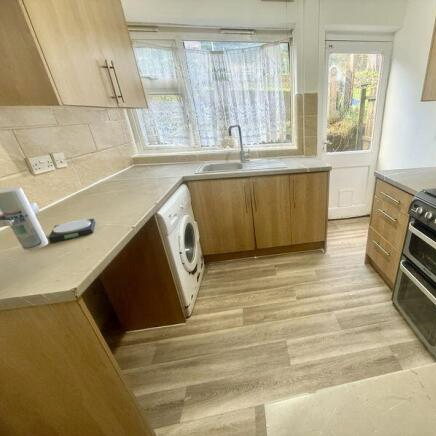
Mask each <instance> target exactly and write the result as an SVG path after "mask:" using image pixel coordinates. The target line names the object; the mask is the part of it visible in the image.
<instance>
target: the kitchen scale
mask: <svg viewBox="0 0 436 436" xmlns="http://www.w3.org/2000/svg"><path fill="white" fill-rule="evenodd" d="M95 226H96V220H95V218H89V219H76V220H72V221H68V222H64V223H62V224H61V223H60V224H56V225H54V227H53V229H52V230H51V232H50V233H49V235H48V237H47V240H48V242H49V243H50V244H53V243H58V242H61V241H67V240H71V239H75V238H80V236H81V237H84V235H85V236H89V235H93V234H94V231H95ZM92 233H93V234H92ZM88 234H89V235H88Z"/></svg>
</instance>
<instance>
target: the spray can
mask: <svg viewBox="0 0 436 436" xmlns="http://www.w3.org/2000/svg"><path fill="white" fill-rule="evenodd" d="M29 203H30V202H29V200H28V198H27V195H26V194H25V192H24V190H23V188H22V187H20V186H13V187H7V188H6V187H5V188H1V189H0V209H1V211H2V213H3V214H4V216H5V218H6V220H7V219H14V222H15V223H16V224H14V225H11V226H10V228H11V229H12V232H13V233H14V235H15V237H16V239H17V240H18V242H19V244H20V246H21V247H22V249H23V250H24V251H33V250H38V249H41V248H44V247H45V246H47V245H48V244H49V239H48V237H47V236H46V234H45V232H44V230H43V228H42V226H41V224H40V222H39V220H38V218H37V215H36V216H35V214H34V212H33V210H32V208H31V206H30V204H29Z"/></svg>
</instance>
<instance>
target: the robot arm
mask: <svg viewBox="0 0 436 436" xmlns="http://www.w3.org/2000/svg"><path fill="white" fill-rule="evenodd" d="M29 204H30V206H31V208H32V210H33V212H34V214H35V216H36V217H37V214H39V213H40V208H39V206H38V205H37V203H36V202H29ZM14 224H16V223H15V222H14V219H7V220H6V218H5V216H4V214H3V213H2V211H1V209H0V228H4V227H11V225H14Z"/></svg>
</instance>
